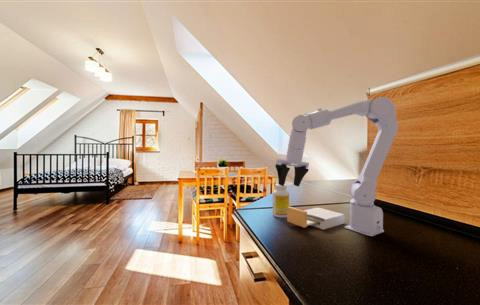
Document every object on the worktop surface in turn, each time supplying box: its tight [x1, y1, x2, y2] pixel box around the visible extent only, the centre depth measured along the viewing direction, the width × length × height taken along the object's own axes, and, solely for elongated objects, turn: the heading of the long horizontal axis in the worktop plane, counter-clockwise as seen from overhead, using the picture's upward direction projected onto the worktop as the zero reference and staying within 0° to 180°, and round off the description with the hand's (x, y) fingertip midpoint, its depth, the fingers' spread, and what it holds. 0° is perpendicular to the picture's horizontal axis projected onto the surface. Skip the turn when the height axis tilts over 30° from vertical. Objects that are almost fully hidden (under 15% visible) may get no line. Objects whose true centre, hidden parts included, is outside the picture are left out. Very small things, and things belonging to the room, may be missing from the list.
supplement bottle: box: [272, 183, 290, 219], centre depth 96 cm, size 7×7×13 cm
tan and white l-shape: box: [286, 206, 320, 228], centre depth 86 cm, size 17×8×5 cm, turn 122°
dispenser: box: [302, 207, 346, 230], centre depth 88 cm, size 12×12×4 cm
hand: (288, 185), depth 86 cm, fingers open, 7 cm apart
